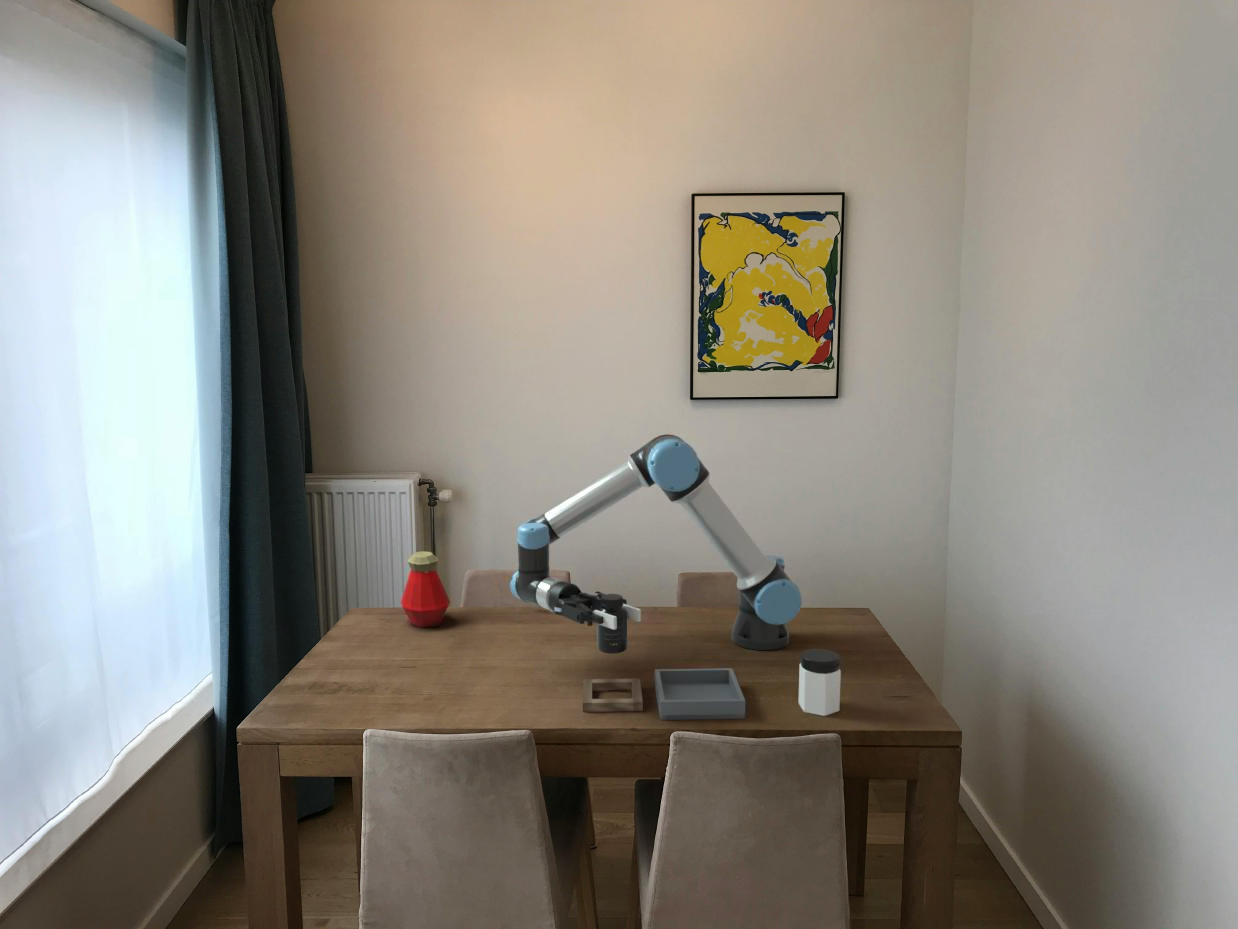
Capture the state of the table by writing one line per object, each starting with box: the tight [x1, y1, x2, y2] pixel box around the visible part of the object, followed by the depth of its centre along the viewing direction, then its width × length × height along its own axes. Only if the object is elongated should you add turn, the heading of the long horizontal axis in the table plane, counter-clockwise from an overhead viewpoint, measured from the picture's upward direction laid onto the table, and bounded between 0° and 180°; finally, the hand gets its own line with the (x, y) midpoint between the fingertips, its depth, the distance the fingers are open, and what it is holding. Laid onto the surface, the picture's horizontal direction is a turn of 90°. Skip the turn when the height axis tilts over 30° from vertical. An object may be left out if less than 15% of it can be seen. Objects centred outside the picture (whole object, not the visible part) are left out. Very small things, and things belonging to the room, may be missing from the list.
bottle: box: [400, 551, 451, 629], centre depth 244 cm, size 16×14×20 cm
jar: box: [797, 648, 842, 717], centre depth 188 cm, size 9×8×12 cm
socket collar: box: [582, 678, 644, 713], centre depth 193 cm, size 13×13×2 cm
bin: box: [654, 667, 746, 721], centre depth 192 cm, size 18×18×4 cm
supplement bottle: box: [596, 593, 629, 655], centre depth 191 cm, size 7×7×12 cm
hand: (627, 619), depth 187 cm, fingers closed on supplement bottle, 7 cm apart
